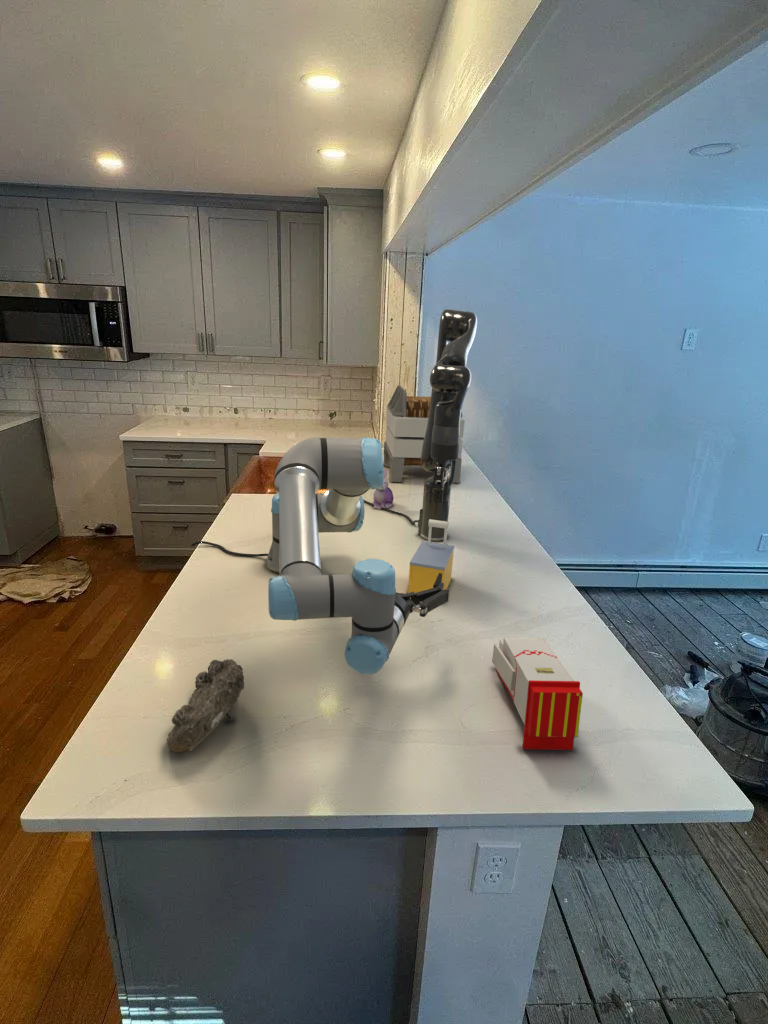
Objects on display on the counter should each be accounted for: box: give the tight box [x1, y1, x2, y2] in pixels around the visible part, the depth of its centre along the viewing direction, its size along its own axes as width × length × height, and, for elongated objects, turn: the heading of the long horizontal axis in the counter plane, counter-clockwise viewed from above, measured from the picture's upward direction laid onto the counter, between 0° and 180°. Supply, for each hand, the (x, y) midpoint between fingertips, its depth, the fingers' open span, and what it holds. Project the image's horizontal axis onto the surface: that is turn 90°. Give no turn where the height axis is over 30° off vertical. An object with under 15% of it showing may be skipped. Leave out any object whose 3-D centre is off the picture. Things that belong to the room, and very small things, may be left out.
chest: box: [407, 549, 455, 593], centre depth 161 cm, size 15×10×10 cm, turn 164°
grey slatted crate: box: [383, 384, 465, 484], centre depth 268 cm, size 34×33×41 cm
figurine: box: [372, 468, 394, 510], centre depth 225 cm, size 9×10×15 cm
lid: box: [409, 519, 455, 570], centre depth 158 cm, size 16×10×9 cm, turn 164°
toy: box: [491, 637, 584, 751], centre depth 115 cm, size 12×13×30 cm
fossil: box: [166, 658, 245, 754], centre depth 106 cm, size 22×10×15 cm
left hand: (411, 573), depth 132 cm, fingers open, 13 cm apart
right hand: (440, 497), depth 159 cm, fingers open, 8 cm apart
